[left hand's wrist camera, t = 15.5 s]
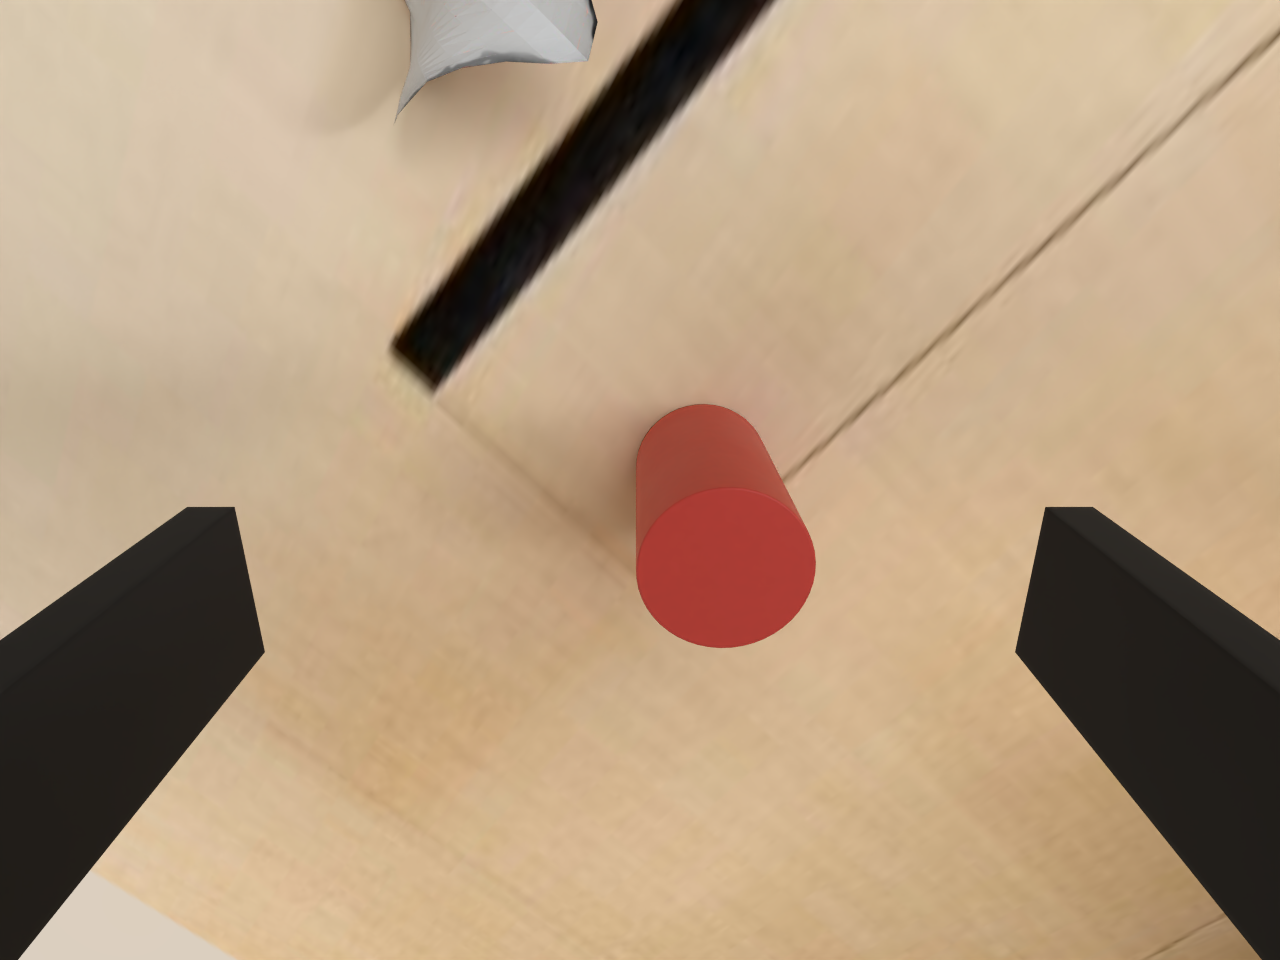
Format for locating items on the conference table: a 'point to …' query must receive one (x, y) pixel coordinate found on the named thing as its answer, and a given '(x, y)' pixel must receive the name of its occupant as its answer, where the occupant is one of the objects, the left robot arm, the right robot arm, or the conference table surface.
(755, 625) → the canister
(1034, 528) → the conference table surface
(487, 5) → the fish
